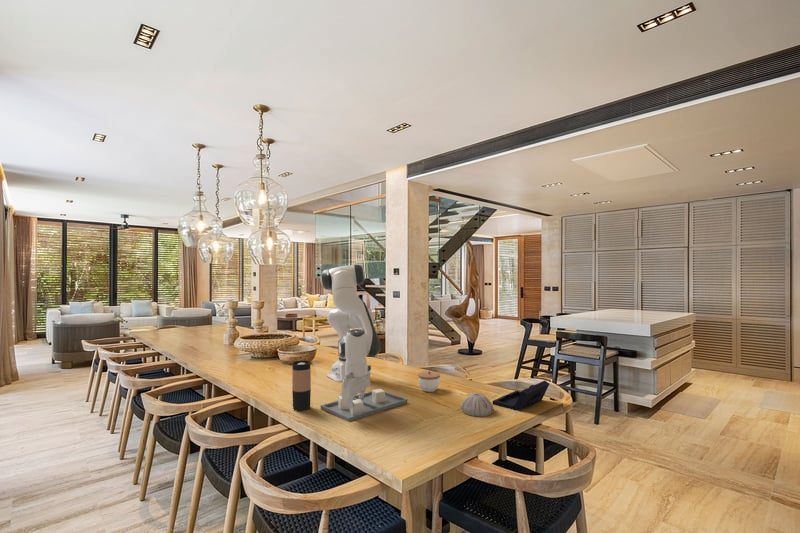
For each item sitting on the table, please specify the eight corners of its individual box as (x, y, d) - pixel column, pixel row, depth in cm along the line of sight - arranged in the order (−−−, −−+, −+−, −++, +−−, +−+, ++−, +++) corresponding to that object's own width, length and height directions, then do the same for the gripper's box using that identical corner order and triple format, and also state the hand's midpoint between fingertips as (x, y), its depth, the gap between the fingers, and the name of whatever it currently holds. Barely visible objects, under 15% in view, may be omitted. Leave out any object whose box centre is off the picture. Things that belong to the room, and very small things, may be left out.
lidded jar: (439, 394, 190) (438, 374, 190) (416, 392, 193) (416, 373, 193) (441, 387, 201) (441, 368, 201) (420, 386, 203) (420, 367, 203)
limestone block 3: (371, 400, 179) (371, 390, 179) (380, 398, 181) (380, 388, 181) (376, 403, 175) (376, 393, 175) (385, 401, 177) (385, 391, 177)
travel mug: (289, 409, 171) (288, 362, 171) (304, 404, 176) (304, 359, 176) (298, 413, 165) (298, 365, 165) (314, 409, 171) (314, 362, 171)
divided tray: (320, 410, 169) (320, 405, 169) (378, 393, 191) (378, 389, 191) (348, 423, 155) (348, 418, 155) (407, 404, 177) (407, 399, 177)
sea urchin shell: (492, 408, 171) (492, 390, 171) (494, 420, 157) (494, 400, 157) (461, 407, 173) (461, 388, 173) (460, 418, 160) (460, 398, 160)
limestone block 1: (338, 406, 172) (338, 395, 172) (348, 404, 173) (348, 394, 173) (340, 409, 167) (340, 398, 167) (351, 408, 169) (351, 397, 169)
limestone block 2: (349, 411, 165) (349, 400, 165) (360, 409, 167) (359, 399, 167) (352, 415, 161) (352, 403, 161) (363, 413, 163) (363, 402, 163)
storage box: (516, 395, 189) (516, 374, 189) (549, 403, 177) (549, 381, 177) (492, 406, 174) (492, 383, 174) (527, 416, 162) (526, 391, 162)
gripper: (351, 377, 153) (352, 413, 153) (372, 364, 173) (373, 396, 173) (337, 375, 155) (337, 411, 155) (359, 363, 175) (359, 395, 175)
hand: (356, 403), depth 164 cm, fingers open, 8 cm apart
